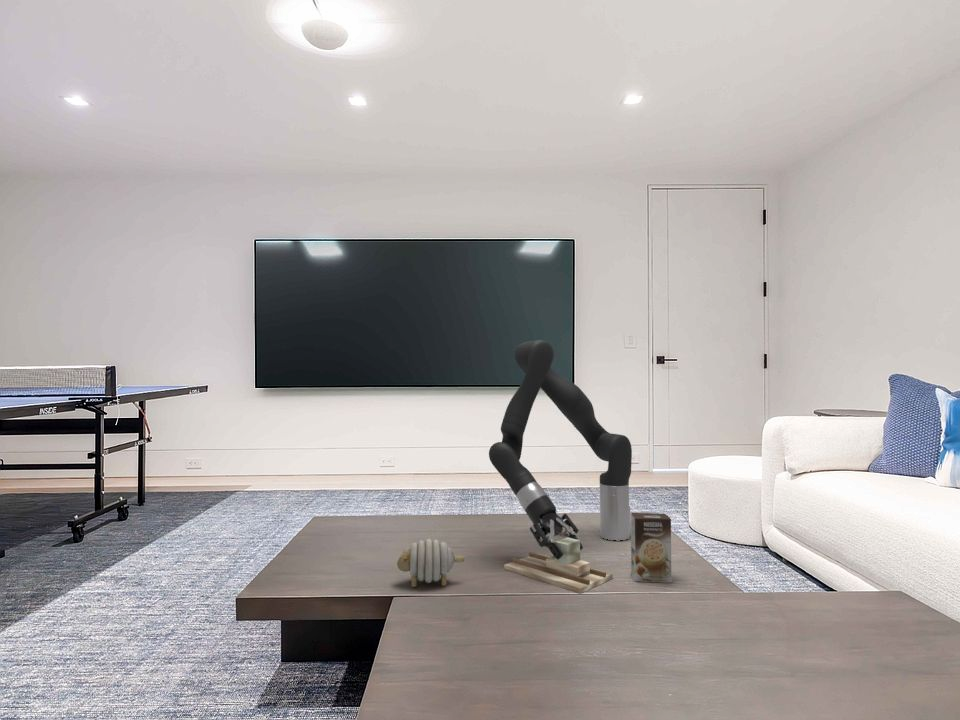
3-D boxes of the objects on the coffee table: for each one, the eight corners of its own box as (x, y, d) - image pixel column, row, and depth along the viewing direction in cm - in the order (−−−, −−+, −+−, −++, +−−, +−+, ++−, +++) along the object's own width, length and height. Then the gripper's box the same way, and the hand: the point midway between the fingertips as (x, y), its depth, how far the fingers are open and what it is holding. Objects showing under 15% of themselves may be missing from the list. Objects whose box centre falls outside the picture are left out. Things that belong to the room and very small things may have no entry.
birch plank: (537, 557, 164) (537, 549, 164) (612, 578, 146) (612, 569, 146) (504, 569, 154) (504, 560, 154) (580, 593, 137) (580, 584, 137)
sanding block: (558, 565, 153) (558, 535, 154) (590, 574, 146) (589, 542, 147) (546, 570, 150) (545, 539, 150) (577, 579, 142) (576, 547, 143)
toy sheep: (396, 578, 148) (396, 535, 148) (461, 574, 151) (460, 532, 151) (397, 593, 138) (397, 547, 138) (466, 588, 140) (466, 543, 141)
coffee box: (635, 582, 144) (634, 518, 144) (631, 573, 150) (629, 512, 150) (672, 583, 143) (671, 518, 143) (666, 574, 149) (665, 512, 150)
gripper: (526, 498, 149) (562, 551, 141) (559, 490, 159) (594, 539, 151) (511, 515, 153) (545, 568, 144) (544, 506, 163) (578, 555, 154)
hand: (570, 553), depth 147 cm, fingers open, 8 cm apart
